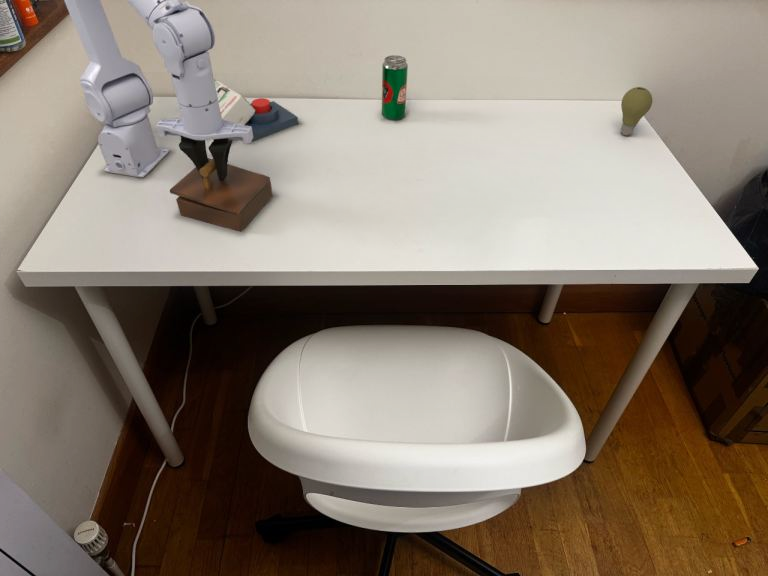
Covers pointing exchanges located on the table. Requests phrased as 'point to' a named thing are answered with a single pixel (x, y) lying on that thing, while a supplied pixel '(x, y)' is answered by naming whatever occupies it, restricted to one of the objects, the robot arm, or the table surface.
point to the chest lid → (221, 187)
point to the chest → (223, 217)
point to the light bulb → (634, 108)
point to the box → (271, 121)
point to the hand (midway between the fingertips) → (215, 176)
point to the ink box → (233, 105)
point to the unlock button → (261, 105)
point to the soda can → (394, 87)
